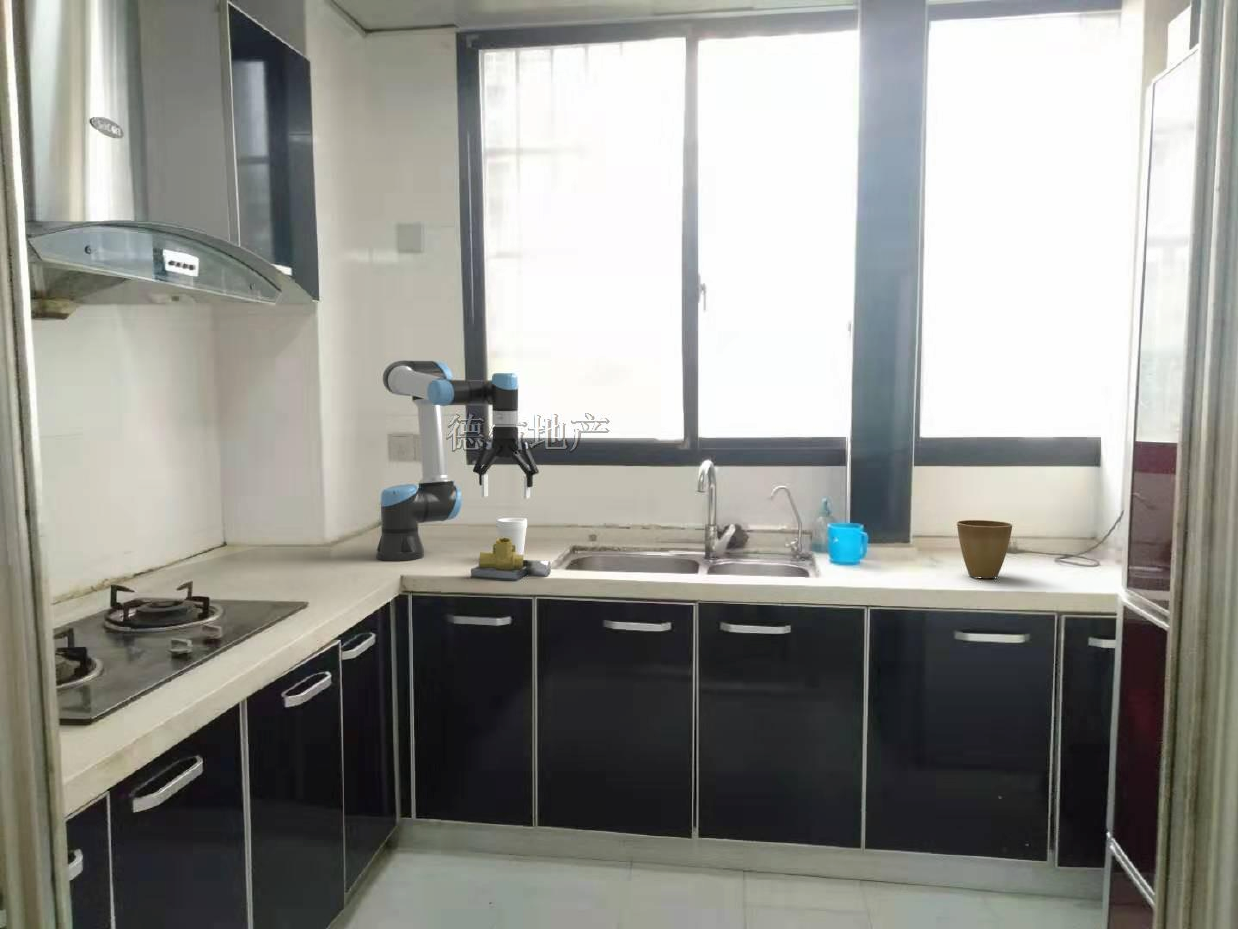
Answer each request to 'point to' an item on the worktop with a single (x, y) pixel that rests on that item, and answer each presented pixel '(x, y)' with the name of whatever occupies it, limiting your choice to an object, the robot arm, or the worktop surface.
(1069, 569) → the worktop surface
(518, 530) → the foam cup
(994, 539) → the plant pot
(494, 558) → the ball valve
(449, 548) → the worktop surface
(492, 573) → the fitting cradle
